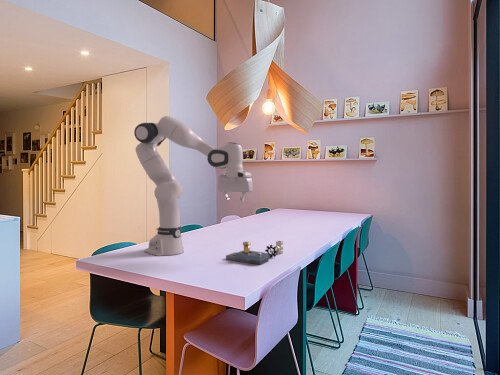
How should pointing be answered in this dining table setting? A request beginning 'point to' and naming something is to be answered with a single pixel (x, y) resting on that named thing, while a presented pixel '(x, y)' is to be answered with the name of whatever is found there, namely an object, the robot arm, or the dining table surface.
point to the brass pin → (246, 247)
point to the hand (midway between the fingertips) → (234, 200)
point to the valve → (275, 249)
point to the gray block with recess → (249, 257)
